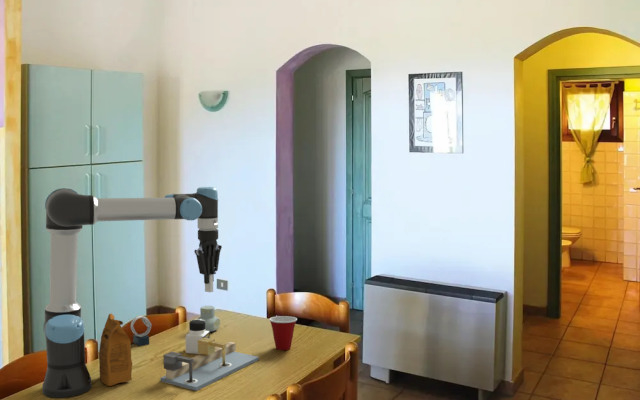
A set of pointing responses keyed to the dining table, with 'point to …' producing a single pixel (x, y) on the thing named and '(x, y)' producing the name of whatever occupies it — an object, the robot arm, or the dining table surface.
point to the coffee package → (114, 353)
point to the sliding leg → (210, 347)
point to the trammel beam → (191, 361)
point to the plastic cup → (283, 331)
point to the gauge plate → (212, 371)
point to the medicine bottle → (195, 335)
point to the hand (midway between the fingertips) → (209, 291)
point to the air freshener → (209, 318)
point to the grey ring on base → (142, 338)
